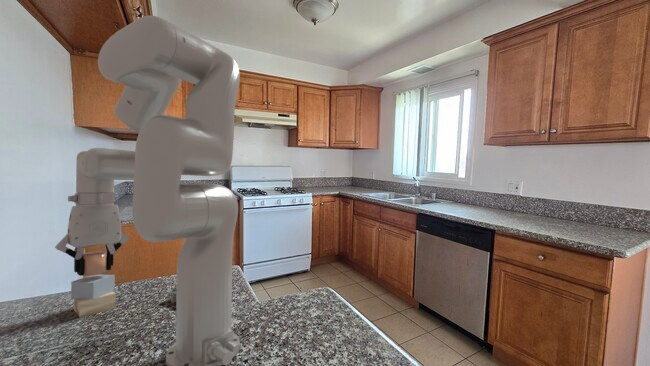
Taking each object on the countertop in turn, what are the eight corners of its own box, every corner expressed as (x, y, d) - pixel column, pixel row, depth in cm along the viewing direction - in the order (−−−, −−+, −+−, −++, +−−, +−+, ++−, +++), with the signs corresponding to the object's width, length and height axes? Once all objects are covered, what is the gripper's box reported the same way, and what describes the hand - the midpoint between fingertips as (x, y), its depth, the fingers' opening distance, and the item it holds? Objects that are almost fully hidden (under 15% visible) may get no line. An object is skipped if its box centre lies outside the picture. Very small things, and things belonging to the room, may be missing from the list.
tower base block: (115, 309, 71) (115, 293, 71) (79, 318, 66) (79, 301, 66) (108, 301, 76) (108, 287, 76) (73, 310, 70) (74, 294, 70)
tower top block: (114, 290, 73) (114, 275, 73) (93, 299, 67) (93, 282, 67) (93, 289, 74) (94, 274, 74) (71, 298, 68) (71, 281, 68)
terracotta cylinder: (109, 272, 71) (109, 252, 71) (84, 277, 67) (84, 256, 67) (103, 268, 74) (103, 249, 74) (78, 273, 70) (79, 253, 70)
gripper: (52, 201, 62) (50, 284, 62) (139, 199, 76) (138, 266, 75) (46, 200, 66) (44, 277, 66) (128, 198, 80) (127, 262, 80)
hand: (94, 271), depth 71 cm, fingers closed on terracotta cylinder, 4 cm apart
